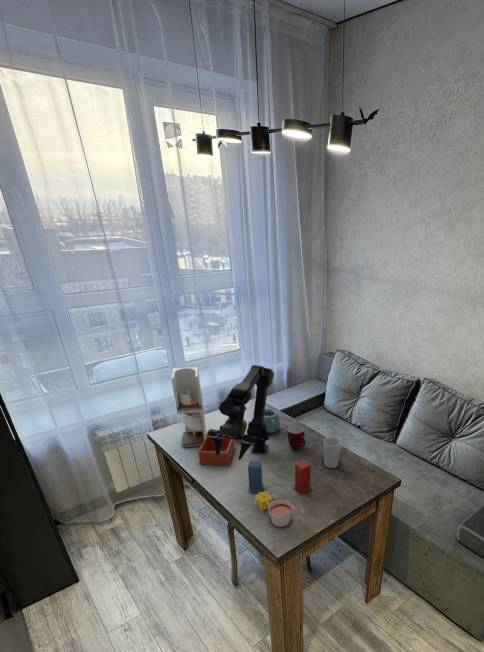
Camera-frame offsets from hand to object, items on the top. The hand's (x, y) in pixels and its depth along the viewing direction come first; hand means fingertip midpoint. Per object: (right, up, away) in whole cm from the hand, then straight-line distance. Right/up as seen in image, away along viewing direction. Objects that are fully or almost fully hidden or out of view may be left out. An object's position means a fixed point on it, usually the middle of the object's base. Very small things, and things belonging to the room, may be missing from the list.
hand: (228, 458), depth 155 cm
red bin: (-11, -1, +27) cm, 29 cm away
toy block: (+15, -19, -1) cm, 24 cm away
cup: (+40, -4, +25) cm, 48 cm away
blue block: (+10, -13, +7) cm, 18 cm away
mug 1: (+10, +11, +48) cm, 50 cm away
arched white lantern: (-25, +6, +38) cm, 46 cm away
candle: (+22, -23, -8) cm, 32 cm away
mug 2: (+25, +3, +35) cm, 43 cm away
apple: (-6, +8, +42) cm, 44 cm away
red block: (+29, -13, +9) cm, 33 cm away
